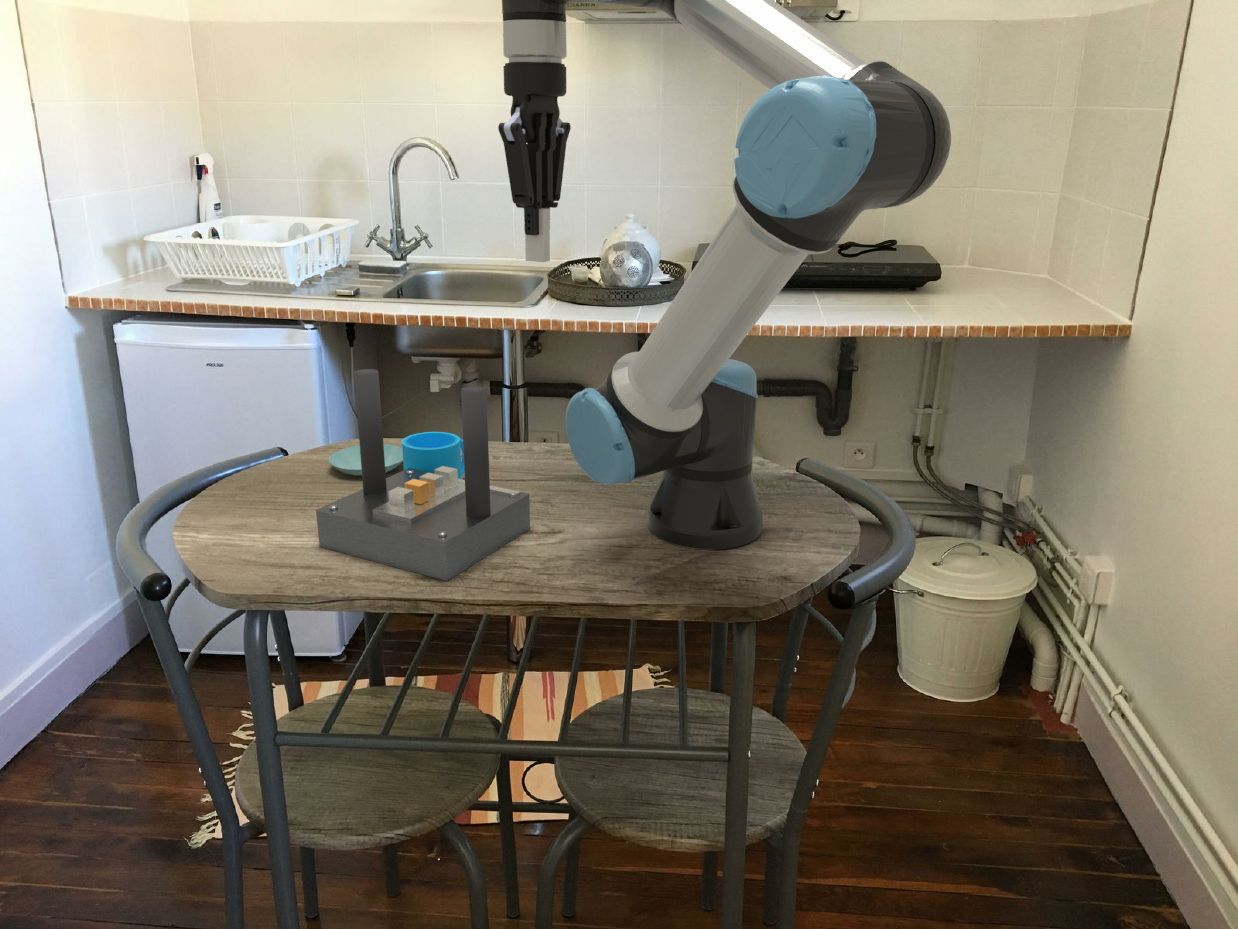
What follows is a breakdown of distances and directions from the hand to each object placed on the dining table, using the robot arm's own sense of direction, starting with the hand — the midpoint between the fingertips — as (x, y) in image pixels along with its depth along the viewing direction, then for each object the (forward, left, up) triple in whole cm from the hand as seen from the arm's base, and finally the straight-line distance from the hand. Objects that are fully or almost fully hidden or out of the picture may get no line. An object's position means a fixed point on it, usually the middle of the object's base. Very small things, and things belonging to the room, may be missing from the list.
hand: (537, 260), depth 128 cm
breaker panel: (+8, +15, -34) cm, 38 cm away
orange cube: (+8, +17, -29) cm, 34 cm away
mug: (+17, 0, -35) cm, 39 cm away
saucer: (+33, -2, -35) cm, 48 cm away
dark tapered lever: (0, +15, -29) cm, 33 cm away
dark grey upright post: (+16, +15, -29) cm, 37 cm away
